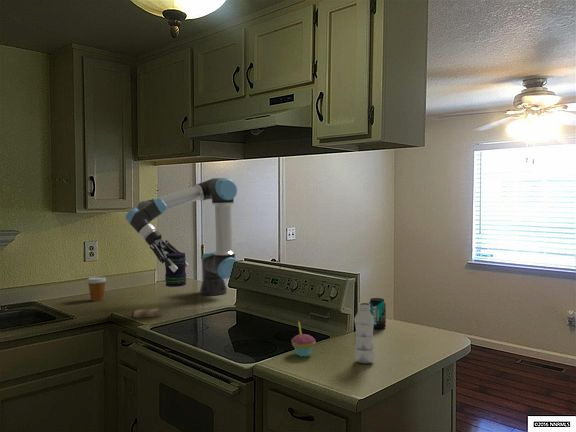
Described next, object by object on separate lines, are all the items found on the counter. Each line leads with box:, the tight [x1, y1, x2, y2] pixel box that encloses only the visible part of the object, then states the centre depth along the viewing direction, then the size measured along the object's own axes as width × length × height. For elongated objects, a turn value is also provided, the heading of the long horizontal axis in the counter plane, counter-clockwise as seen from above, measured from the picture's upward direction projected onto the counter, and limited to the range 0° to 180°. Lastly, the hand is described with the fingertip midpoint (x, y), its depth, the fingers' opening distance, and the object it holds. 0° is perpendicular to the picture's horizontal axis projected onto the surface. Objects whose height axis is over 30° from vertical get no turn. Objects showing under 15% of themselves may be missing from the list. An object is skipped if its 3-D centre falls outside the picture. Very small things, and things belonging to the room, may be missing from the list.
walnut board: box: [132, 308, 160, 318], centre depth 236 cm, size 11×10×1 cm
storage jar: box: [164, 252, 187, 288], centre depth 238 cm, size 10×10×15 cm
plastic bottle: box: [354, 302, 376, 365], centre depth 168 cm, size 6×7×20 cm
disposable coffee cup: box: [86, 276, 107, 302], centre depth 267 cm, size 10×10×12 cm
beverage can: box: [368, 297, 387, 330], centre depth 209 cm, size 7×7×12 cm
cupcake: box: [290, 320, 317, 357], centre depth 177 cm, size 9×8×12 cm
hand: (181, 268), depth 237 cm, fingers closed on storage jar, 10 cm apart
